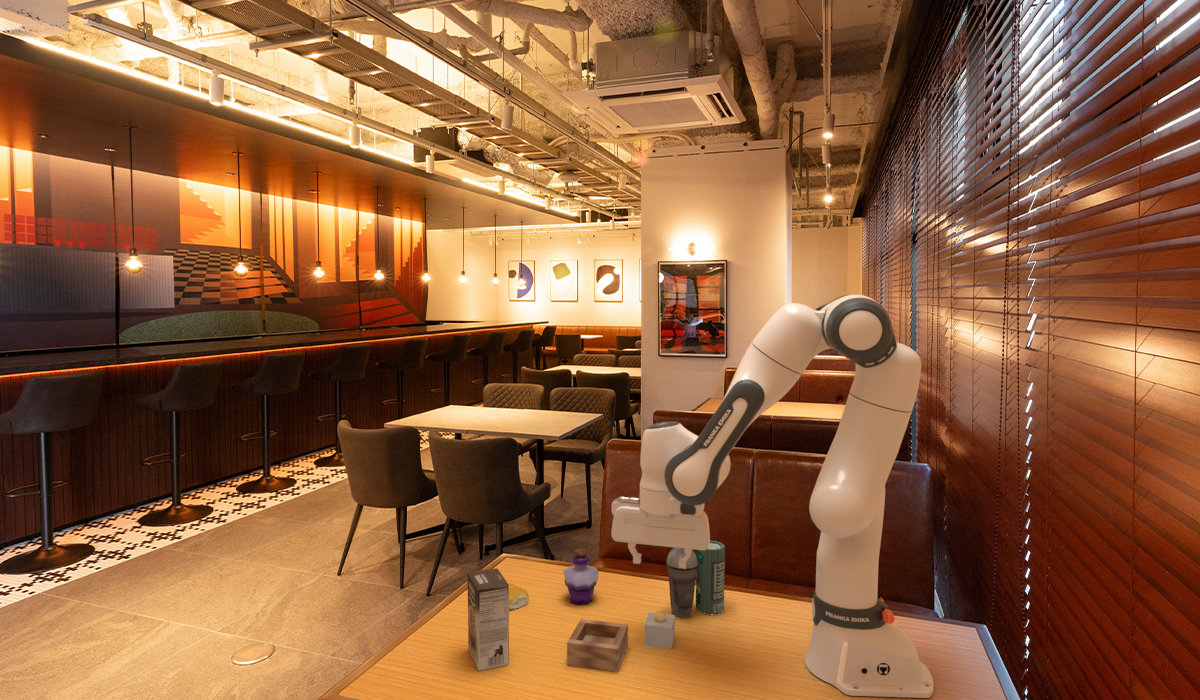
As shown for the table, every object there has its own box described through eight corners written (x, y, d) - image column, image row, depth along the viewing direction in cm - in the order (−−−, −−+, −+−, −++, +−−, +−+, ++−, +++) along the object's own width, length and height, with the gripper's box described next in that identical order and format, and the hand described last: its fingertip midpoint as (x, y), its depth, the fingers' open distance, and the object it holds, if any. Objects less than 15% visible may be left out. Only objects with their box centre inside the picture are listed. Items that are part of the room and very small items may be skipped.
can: (706, 600, 155) (707, 538, 154) (728, 608, 151) (729, 545, 150) (691, 608, 151) (691, 545, 150) (713, 617, 147) (714, 552, 146)
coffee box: (467, 649, 133) (466, 571, 132) (498, 643, 135) (497, 566, 134) (477, 672, 124) (476, 589, 123) (510, 665, 127) (509, 583, 126)
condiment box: (627, 645, 134) (628, 624, 134) (617, 672, 125) (617, 649, 124) (580, 639, 137) (580, 618, 136) (567, 665, 127) (567, 642, 127)
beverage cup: (696, 622, 144) (698, 533, 143) (663, 619, 146) (664, 531, 145) (698, 608, 151) (699, 523, 150) (667, 605, 153) (668, 520, 152)
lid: (674, 635, 139) (675, 609, 138) (671, 649, 133) (671, 622, 133) (648, 632, 140) (648, 606, 140) (644, 645, 135) (644, 618, 134)
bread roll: (511, 591, 160) (511, 575, 160) (534, 603, 154) (534, 587, 154) (482, 602, 155) (482, 585, 154) (505, 614, 148) (505, 597, 148)
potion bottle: (567, 590, 160) (567, 542, 160) (602, 594, 159) (602, 545, 158) (558, 606, 152) (558, 555, 151) (594, 610, 150) (595, 558, 149)
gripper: (608, 499, 134) (607, 565, 135) (709, 508, 129) (707, 576, 130) (614, 491, 140) (613, 554, 141) (711, 499, 136) (709, 564, 137)
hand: (659, 565), depth 136 cm, fingers open, 8 cm apart
